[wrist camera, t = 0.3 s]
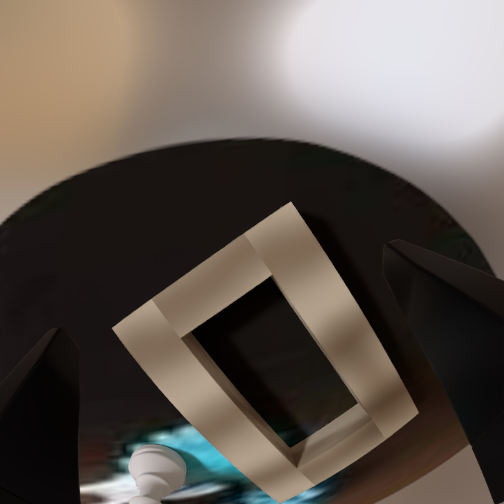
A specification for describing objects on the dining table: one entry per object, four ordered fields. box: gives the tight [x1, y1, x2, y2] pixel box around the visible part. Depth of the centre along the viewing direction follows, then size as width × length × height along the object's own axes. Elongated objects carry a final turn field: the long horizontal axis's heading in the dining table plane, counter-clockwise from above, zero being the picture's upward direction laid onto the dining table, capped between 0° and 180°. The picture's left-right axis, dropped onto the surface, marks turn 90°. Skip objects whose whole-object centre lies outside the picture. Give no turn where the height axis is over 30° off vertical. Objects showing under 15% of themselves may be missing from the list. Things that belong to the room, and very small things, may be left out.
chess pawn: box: [128, 444, 187, 504], centre depth 18 cm, size 5×5×9 cm
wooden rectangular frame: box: [112, 202, 419, 504], centre depth 21 cm, size 20×14×3 cm
